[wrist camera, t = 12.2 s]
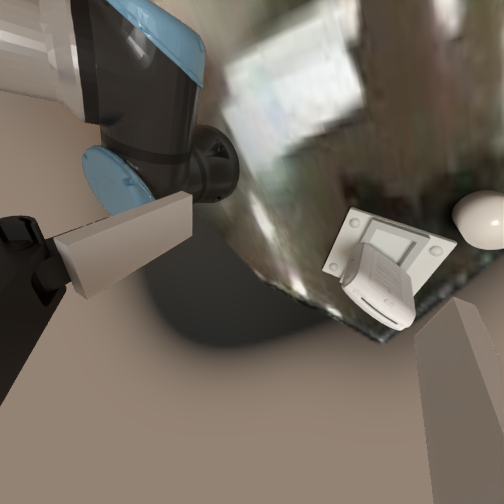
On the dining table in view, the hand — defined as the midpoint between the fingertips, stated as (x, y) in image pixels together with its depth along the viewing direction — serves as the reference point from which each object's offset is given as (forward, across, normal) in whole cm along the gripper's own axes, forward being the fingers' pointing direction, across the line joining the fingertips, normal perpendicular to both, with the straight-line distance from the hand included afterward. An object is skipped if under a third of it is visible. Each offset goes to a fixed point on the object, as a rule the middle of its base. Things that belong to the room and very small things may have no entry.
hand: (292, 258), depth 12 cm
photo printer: (+29, +10, -14) cm, 34 cm away
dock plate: (+32, +10, -14) cm, 36 cm away
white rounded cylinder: (+32, +18, -2) cm, 37 cm away
